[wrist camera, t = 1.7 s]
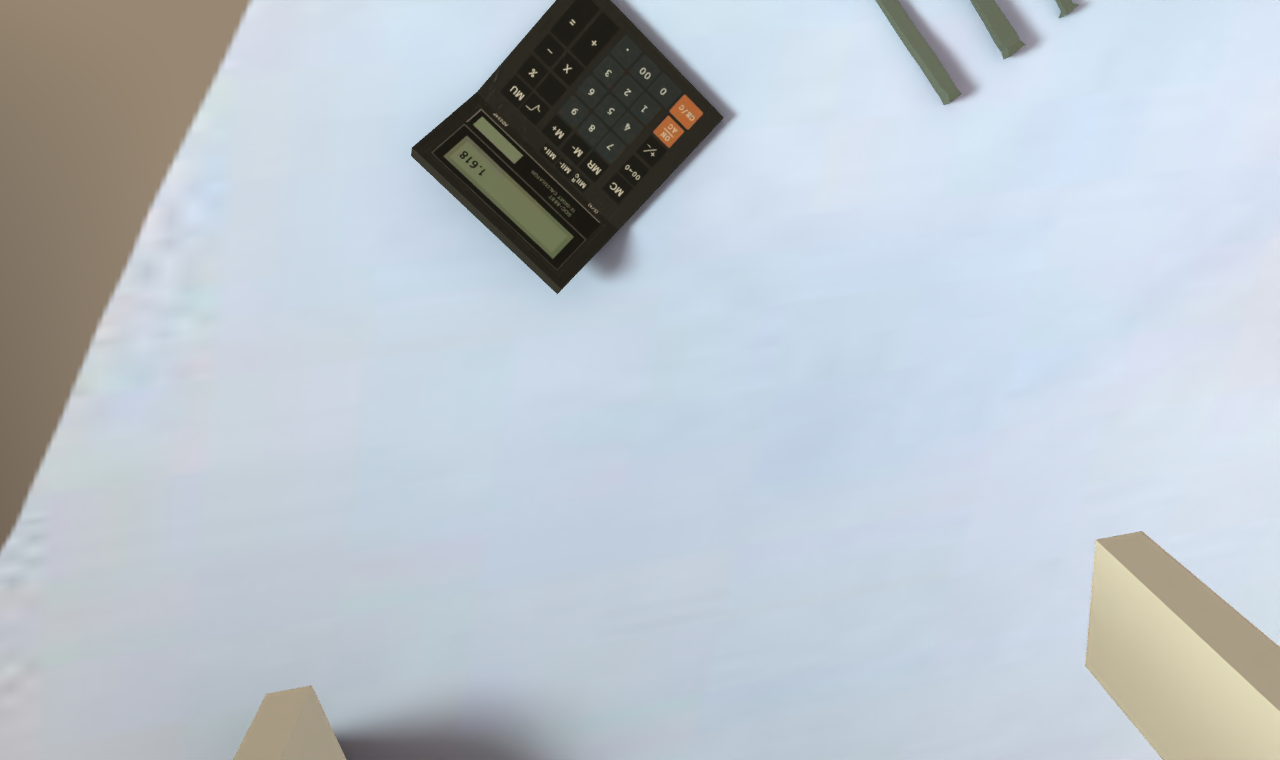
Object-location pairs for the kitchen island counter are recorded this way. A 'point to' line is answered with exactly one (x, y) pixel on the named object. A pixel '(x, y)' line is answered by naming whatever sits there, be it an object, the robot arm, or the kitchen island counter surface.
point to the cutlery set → (928, 60)
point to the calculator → (568, 137)
